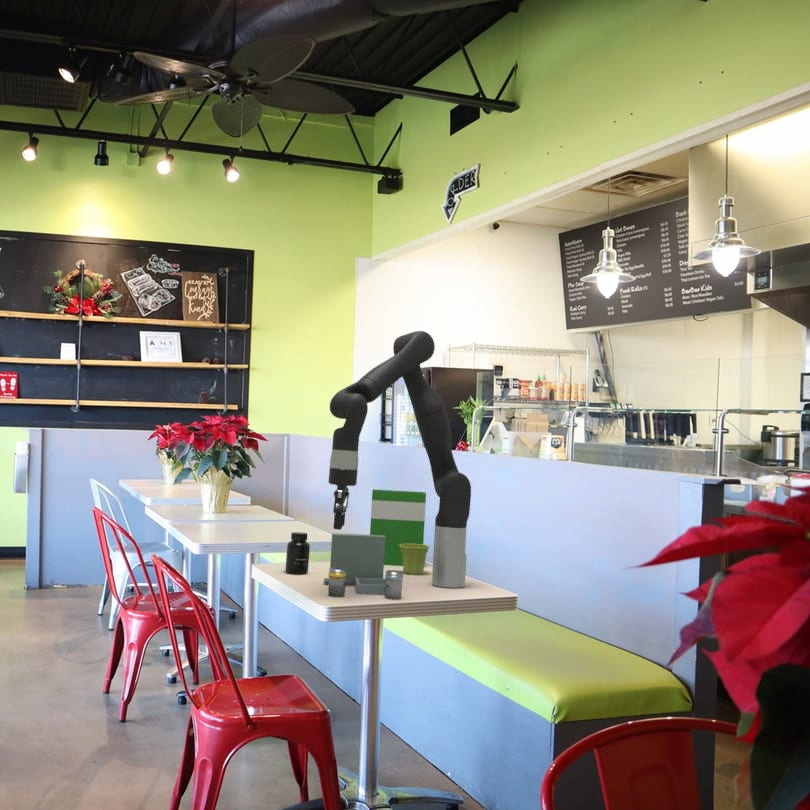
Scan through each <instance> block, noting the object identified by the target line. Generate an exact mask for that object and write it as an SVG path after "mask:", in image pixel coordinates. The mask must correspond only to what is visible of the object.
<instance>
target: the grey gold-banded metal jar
mask: <svg viewBox="0 0 810 810" xmlns="http://www.w3.org/2000/svg"><path fill="white" fill-rule="evenodd" d="M328 578H329V585H328V590H327V591H328V593H327V597H330V598H331V597H332V598H344V597H345V596H346V586H345V582H346V569H344V568H330V567H329V572H328Z"/></svg>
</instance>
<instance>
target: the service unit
mask: <svg viewBox="0 0 810 810" xmlns="http://www.w3.org/2000/svg"><path fill="white" fill-rule="evenodd" d="M384 552H385V536H384V535H370V534H362V533H361V534H359V533H357V534H356V533H338V532H337V533H336V532H335V533H334V532H332V533H331V545H330V563H329V564H330V565H329V569H330V568H344V569H346V582H345V587H346V586H348V587H349V586H350V587H355V578H378V579H384V570H385V569H384V566H385V565H384ZM323 585H325V586H329V577H328V578H327V577H326V578H323Z"/></svg>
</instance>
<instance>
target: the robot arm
mask: <svg viewBox="0 0 810 810" xmlns="http://www.w3.org/2000/svg"><path fill="white" fill-rule="evenodd" d="M435 347H436V346H435V341H434V339H433V337H432V336H431V335H430V333H429V332H426V331H423V330H417V331H413V332H409V333H406V334H403V335H400V336H398V337H396V338H395V340H394V342H393V356H391V357H390V358H387V360H385V361H383V362H381V363H380V364H378V365H376V366H375V367H373V368H371V369H370V370H369V371H368V372H367V373H366V374H364V375H363V376H362V377H361V378H360V379H359V380H358V381H356V382H353V383H352V384H349V385H348V386H346V387H344V388H343V389H340V390H339V391H338V392H336V393H335V394H334V396H332V398H331V400H330V403H329V412H330V414H331V415H332V416H333V417H335V418H337V419H340V420H345V421H344V424H343V426H341V427H338V428H336V429H334V432H333V436H332V445H331V446H332V447H331V454H330V459H329V461H330V462H329V473H328V484H330V485H334V486H335V485H336V486H337V487H336V489H335V490H334V491H333V503H332V504H333V506H332V507H333V509H332V511H333V515H334V517H333V518H334V519H333V529H334V530H338V531H339V530H342V529H343V527H344V526H345V520H346V511H347V509H348V505H349V498H350V492H349V487H354V486H356V485H357V483H358V482H357V481H358V469H359V468H358V467H359V444H360V436H361V433H362V430H363V428H364V427H363V426H364V424H365V422H366V421H365V420H366V418H367V414H368V403H369V404H370V403H372V402H374V401H376V400H377V399H378V398H379V397H380V396H381V395H382V394H384V393H385V392H386V390H388V389H389V388H390V387H391V386H392V385H394V383H396V382H397V381H399V379H401V378H402V380H403V381H404V384H405V388H406V391H407V394H408V396H409V399H410V403H411V406H412V410H413V413H414V417H415V421H416V424H417V428H418V430H419V434H420V437H421V440H422V443H423V446H424V449H425V452H426V454H427V457H428V460H429V465H430V471H431V475H432V480H433V487H434V488H433V489H434V491H435V493H436V495H437V496H438V497H439V503H438V504H439V505H438V512H437V514H436V515H435V519H434V536H433V537H434V539H433V555H432V556H433V558H432V559H433V560H432V574H431V585H433V586H435V587H439V588H441V587H442V588H451V589H454V588H455V589H456V588H457V589H458V588H466V587H465V586H466V574H467V573H466V571H467V554H466V547H467V546H466V544H467V523H468V520H469V516H470V510H471V509H470V508H471V500H472V499H471V498H472V486H471V481H470V480H469V478H468V476H466V475H465V474H464V473H462V472H460V471H459V469H458V466H457V464H456V461H455V458H454V454H453V450H452V431H451V430H452V429H451V423H450V419H449V416H448V411H447V409H446V406H445V404H444V401H443V399H441V396H439V395H438V394H437V392H436V391H435V390H434V389H433V388H432V387H431V385H429V383H428V381H427V380H426V378H425V376H424V374H423V371H422V367H421V364H423V363H426V362H427V361H428V360H430V359H431V358H432V357H433V355H434V353H435V349H436V348H435ZM348 486H349V487H348Z"/></svg>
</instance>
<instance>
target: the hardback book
mask: <svg viewBox="0 0 810 810" xmlns="http://www.w3.org/2000/svg"><path fill="white" fill-rule="evenodd" d="M426 501H427V493H426V491H425V492H424V491H408V490H392V489H390V490H389V489H372V492H371V512H370V528H369V529H370V530H369V535H384V536H385V552H384V566H394V567H403V559H402V551H401V547H400V546H399V545H400V544H423V545H424V540H425V539H424V538H425V521H426Z"/></svg>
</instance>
